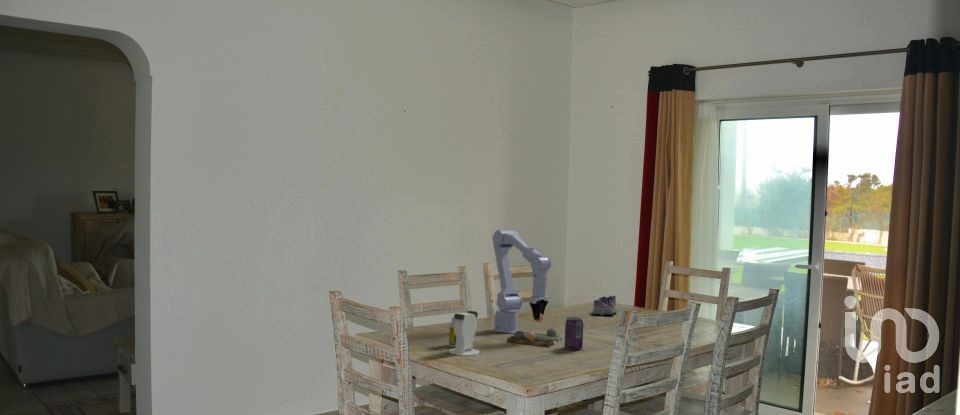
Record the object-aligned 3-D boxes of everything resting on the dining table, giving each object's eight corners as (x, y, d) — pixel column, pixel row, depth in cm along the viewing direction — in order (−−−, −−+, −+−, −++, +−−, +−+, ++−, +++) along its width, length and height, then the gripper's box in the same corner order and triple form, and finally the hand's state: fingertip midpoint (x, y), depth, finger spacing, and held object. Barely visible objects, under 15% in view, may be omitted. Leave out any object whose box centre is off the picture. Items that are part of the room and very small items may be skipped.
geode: (597, 309, 397) (600, 291, 397) (619, 315, 393) (622, 296, 393) (588, 314, 378) (592, 294, 378) (611, 319, 374) (615, 299, 374)
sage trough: (513, 338, 314) (513, 335, 314) (522, 334, 325) (522, 330, 324) (554, 343, 307) (554, 340, 307) (562, 339, 317) (562, 335, 317)
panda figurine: (460, 347, 295) (461, 308, 294) (485, 351, 289) (487, 312, 289) (443, 352, 285) (444, 312, 284) (469, 357, 279) (470, 316, 278)
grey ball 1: (512, 340, 308) (512, 330, 308) (515, 339, 312) (516, 329, 312) (521, 341, 307) (522, 332, 306) (525, 340, 310) (525, 330, 310)
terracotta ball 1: (524, 342, 306) (524, 332, 306) (527, 340, 310) (527, 330, 310) (533, 343, 305) (533, 333, 304) (536, 341, 308) (537, 331, 308)
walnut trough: (506, 341, 308) (507, 338, 308) (512, 339, 314) (512, 335, 313) (549, 347, 301) (549, 343, 301) (553, 344, 306) (554, 340, 306)
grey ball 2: (545, 338, 315) (545, 328, 315) (548, 336, 319) (548, 327, 319) (554, 339, 314) (554, 329, 314) (557, 337, 317) (557, 328, 317)
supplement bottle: (460, 343, 301) (461, 315, 301) (467, 347, 296) (468, 318, 295) (446, 344, 298) (447, 316, 298) (453, 348, 293) (454, 319, 292)
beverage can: (584, 347, 302) (585, 317, 302) (580, 351, 296) (581, 320, 295) (566, 345, 305) (567, 316, 304) (562, 349, 298) (563, 318, 298)
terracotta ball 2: (532, 322, 313) (532, 312, 313) (535, 320, 317) (535, 311, 316) (541, 323, 311) (541, 313, 311) (544, 321, 315) (544, 312, 315)
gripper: (543, 288, 305) (541, 322, 306) (554, 284, 318) (552, 316, 319) (526, 287, 308) (525, 320, 308) (538, 283, 321) (537, 315, 322)
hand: (538, 318), depth 314 cm, fingers closed on terracotta ball 2, 4 cm apart
